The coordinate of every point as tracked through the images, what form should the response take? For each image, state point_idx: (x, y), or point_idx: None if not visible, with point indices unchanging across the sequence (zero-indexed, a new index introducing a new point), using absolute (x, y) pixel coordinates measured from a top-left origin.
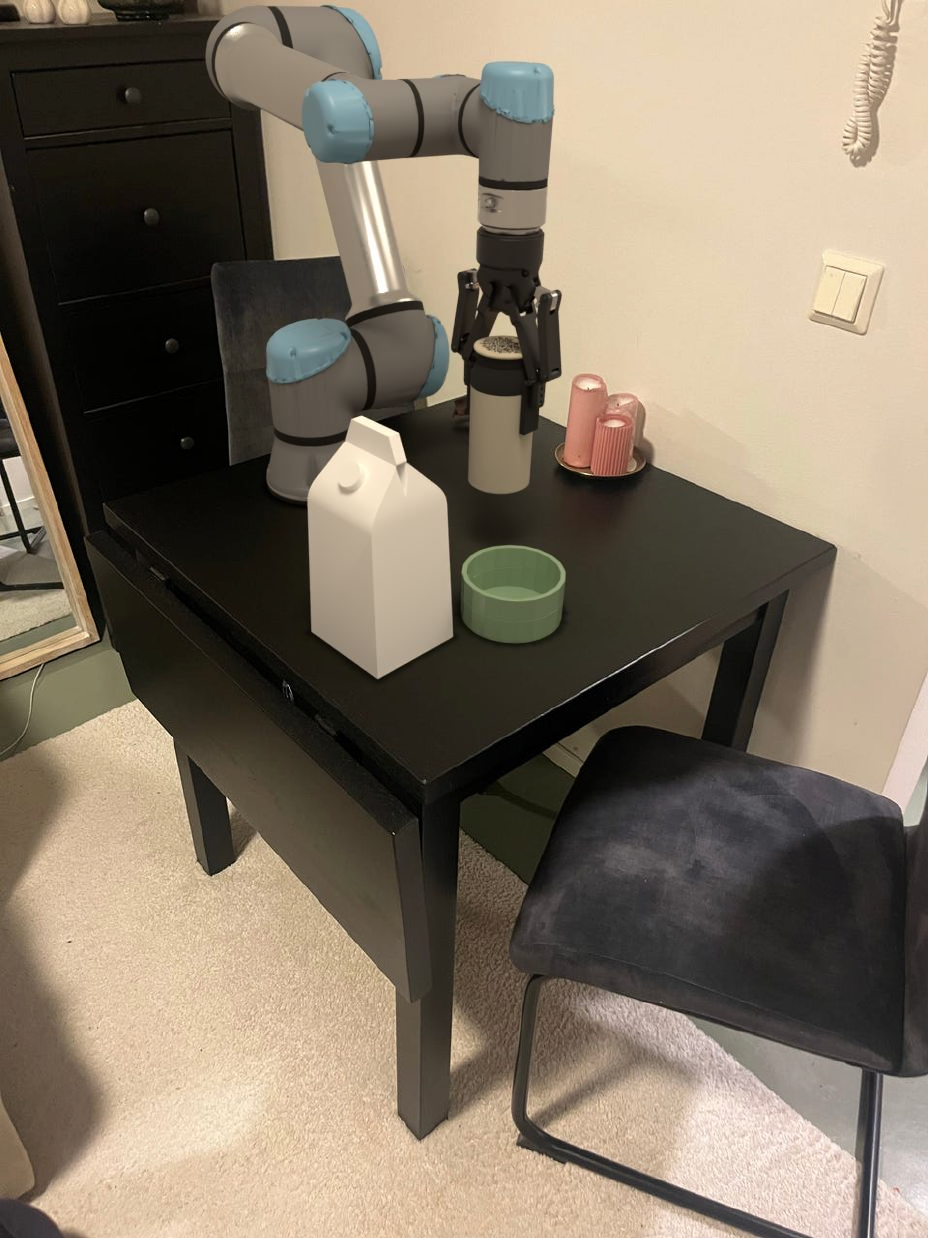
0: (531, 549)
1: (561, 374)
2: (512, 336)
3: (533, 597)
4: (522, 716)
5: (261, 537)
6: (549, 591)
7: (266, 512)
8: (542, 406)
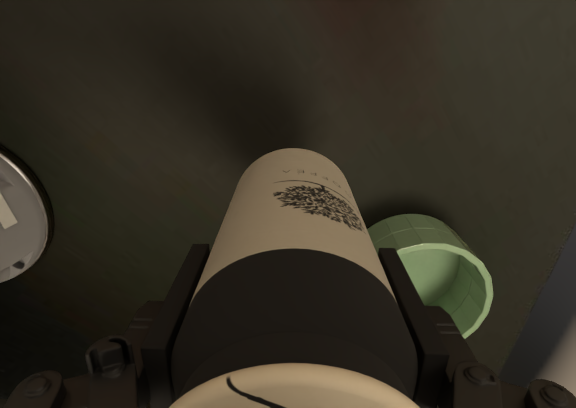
0: (413, 250)
1: (573, 395)
2: (229, 398)
3: (473, 327)
4: (496, 365)
5: (78, 333)
6: (485, 308)
7: (22, 298)
8: (440, 308)
